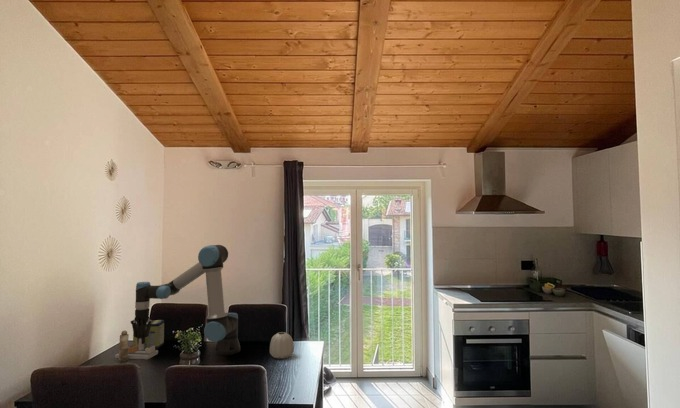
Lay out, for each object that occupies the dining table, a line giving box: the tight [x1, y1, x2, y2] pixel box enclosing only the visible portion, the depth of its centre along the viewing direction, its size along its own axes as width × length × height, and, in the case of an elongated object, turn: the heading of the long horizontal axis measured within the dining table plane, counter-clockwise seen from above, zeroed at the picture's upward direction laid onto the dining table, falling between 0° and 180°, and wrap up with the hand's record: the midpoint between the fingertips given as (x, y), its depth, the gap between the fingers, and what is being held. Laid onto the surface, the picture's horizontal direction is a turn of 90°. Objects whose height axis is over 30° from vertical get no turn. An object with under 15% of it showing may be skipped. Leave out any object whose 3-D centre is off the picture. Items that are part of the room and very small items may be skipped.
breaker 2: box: [145, 345, 156, 353], centre depth 226 cm, size 3×5×4 cm, turn 175°
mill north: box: [118, 330, 130, 363], centre depth 219 cm, size 4×4×16 cm
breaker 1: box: [128, 343, 138, 353], centre depth 227 cm, size 3×5×4 cm, turn 175°
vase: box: [269, 331, 295, 360], centre depth 224 cm, size 14×14×13 cm
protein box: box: [132, 319, 165, 350], centre depth 245 cm, size 10×16×16 cm
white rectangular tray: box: [114, 349, 159, 360], centre depth 226 cm, size 20×10×3 cm, turn 85°
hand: (140, 349), depth 226 cm, fingers closed
